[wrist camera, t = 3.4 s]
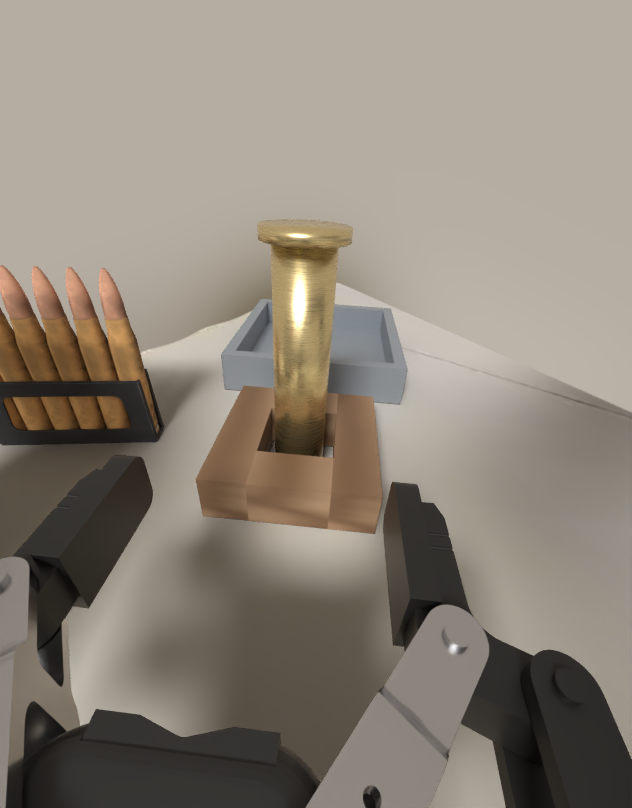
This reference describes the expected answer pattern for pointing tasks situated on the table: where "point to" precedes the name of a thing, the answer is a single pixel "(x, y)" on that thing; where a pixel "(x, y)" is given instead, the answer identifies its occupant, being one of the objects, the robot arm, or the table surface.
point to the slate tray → (349, 359)
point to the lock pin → (302, 326)
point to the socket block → (295, 468)
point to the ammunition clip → (71, 368)
